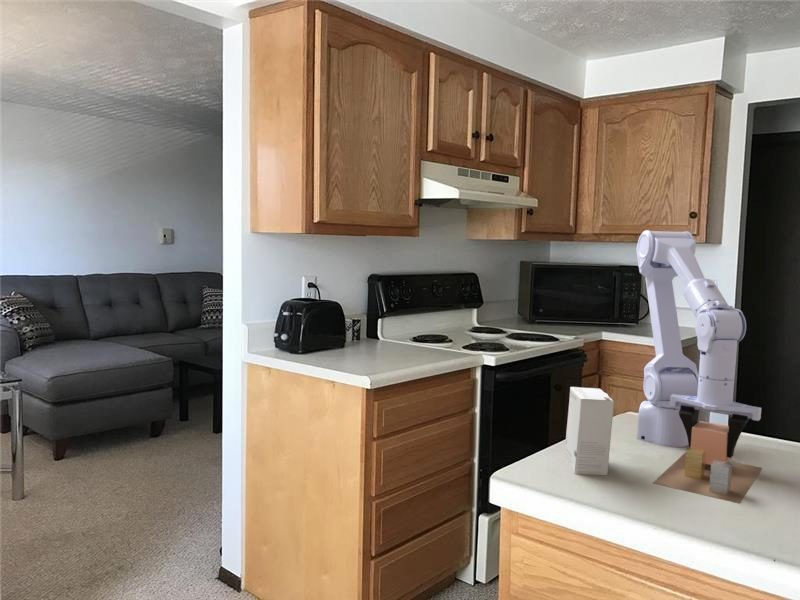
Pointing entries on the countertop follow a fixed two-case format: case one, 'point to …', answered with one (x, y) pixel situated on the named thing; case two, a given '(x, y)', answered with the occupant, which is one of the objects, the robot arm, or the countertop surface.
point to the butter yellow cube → (695, 462)
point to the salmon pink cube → (711, 440)
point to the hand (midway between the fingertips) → (710, 452)
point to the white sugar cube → (720, 477)
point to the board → (739, 480)
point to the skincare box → (588, 431)
